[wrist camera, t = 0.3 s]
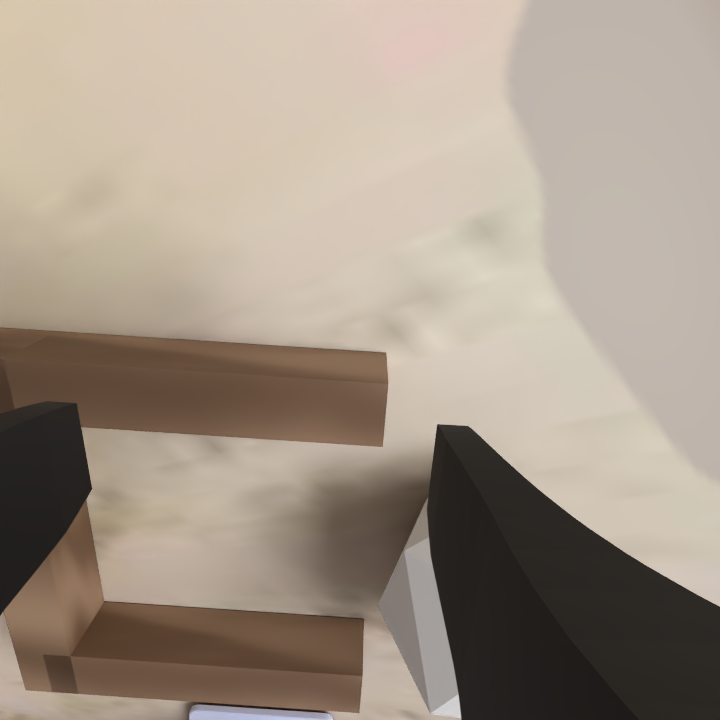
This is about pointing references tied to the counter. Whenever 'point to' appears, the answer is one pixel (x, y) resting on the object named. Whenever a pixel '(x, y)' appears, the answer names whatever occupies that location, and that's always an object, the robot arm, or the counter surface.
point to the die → (421, 623)
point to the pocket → (200, 417)
